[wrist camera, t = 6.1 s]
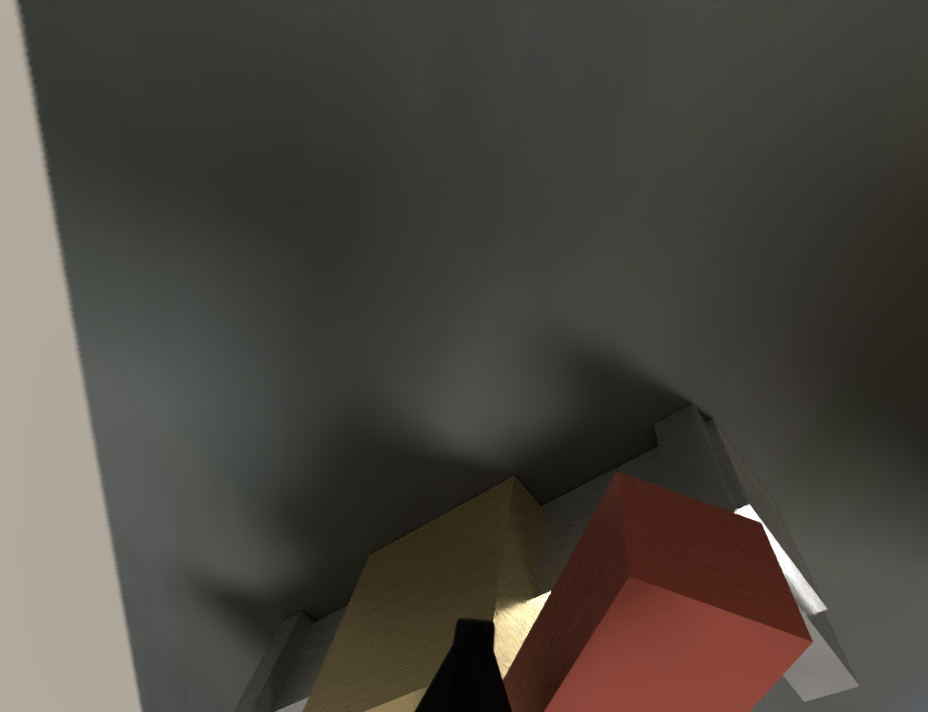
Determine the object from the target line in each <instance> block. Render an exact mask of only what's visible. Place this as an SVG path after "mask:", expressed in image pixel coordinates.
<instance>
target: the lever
mask: <svg viewBox="0 0 928 712" xmlns="http://www.w3.org/2000/svg"><path fill="white" fill-rule="evenodd" d="M812 643H813V640H812V638H811V636H810V633H809V631H808V629H807V626H806V624H805V622H804V620H803V617H802V615H801V613H800V610H799V608H798V606H797V603H796V601H795V599H794V597H793V594H792V592H791V590H790V587H789V585H788V583H787V580H786V578H785V576H784V574H783V571H782V569H781V567H780V564H779V562H778V560H777V557H776V555H775V553H774V550H773V548H772V546H771V544H770V541H769V539H768V537H767V534H766V532H765V530H764V527H763V525H762V523H761V522H758V521H756V520H753V519H750V518H747V517H744V516H742V515H739V514H736V513H733V512H730V511H727V510H725V509H722V508H719V507H716V506H713V505H710V504H708V503H705V502H702V501H699V500H696V499H693V498H691V497H688V496H685V495H682V494H679V493H676V492H674V491H671V490H668V489H665V488H662V487H659V486H657V485H654V484H651V483H648V482H645V481H642V480H640V479H637V478H634V477H631V476H628V475H625V474H623V473H620V472H616V474H615V475H614V477H613V479H612V481H611V483H610V485H609V486H608V488H607V490H606V492H605V494H604V496H603V497H602V499H601V501H600V503H599V505H598V507H597V508H596V510H595V512H594V514H593V516H592V518H591V519H590V521H589V523H588V525H587V527H586V529H585V530H584V532H583V534H582V536H581V538H580V540H579V541H578V543H577V545H576V547H575V549H574V551H573V552H572V554H571V556H570V558H569V560H568V562H567V563H566V565H565V567H564V569H563V571H562V573H561V574H560V576H559V578H558V580H557V582H556V584H555V585H554V587H553V589H552V591H551V593H550V595H549V596H548V598H547V600H546V602H545V604H544V606H543V607H542V609H541V611H540V613H539V615H538V617H537V618H536V620H535V622H534V624H533V626H532V628H531V629H530V631H529V633H528V635H527V637H526V639H525V640H524V642H523V644H522V646H521V648H520V650H519V651H518V653H517V655H516V657H515V659H514V661H513V662H512V664H511V666H510V668H509V670H508V672H507V673H506V675H505V677H504V679H503V682H504V686H505V689H506V692H507V696H508V699H509V703H510V706H511V709H512V712H749V711H750V710H751V709H752V708H753V707H754V706H755V705H756V704H757V703H758V701H759V700H760V699H761V698H762V697H763V696H764V695H765V694H766V693H767V692H768V691H769V689H770V688H771V687H772V686H773V685H774V684H775V683H776V682H777V681H778V680H779V679H780V678H781V676H782V675H783V674H784V673H785V672H786V671H787V670H788V669H789V668H790V667H791V666H792V665H793V663H794V662H795V661H796V660H797V659H798V658H799V657H800V656H801V655H802V654H803V653H804V651H805V650H806V649H807V648H808V647H809V646H810V645H811V644H812Z"/></svg>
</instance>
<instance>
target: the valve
mask: <svg viewBox="0 0 928 712" xmlns="http://www.w3.org/2000/svg"><path fill="white" fill-rule="evenodd" d="M654 428H655V432H656V436H657V440H658V445H659V446H658V447H656V448H654V449H652V450H650V451H648V452H646V453H644V454H642V455H640V456H638V457H637V458H635V459H633V460H631V461H629V462H627V463H625V464H623V465H621V466H619V467H617V468H615V469H613V470H611V471H609V472H607V473H605V474H603V475H601V476H599V477H597V478H595V479H593V480H592V481H590V482H588V483H586V484H584V485H582V486H580V487H578V488H576V489H574V490H572V491H570V492H568V493H566V494H564V495H562V496H560V497H558V498H556V499H554V500H552V501H550V502H549V503H547V504H545V505H543V506H540V505H539V503H538V502H537V501H536V500H535V499H534V498H533V497H532V495H531V494H530V493H529V492H528V491H527V490H526V489H525V487H524V486H523V485H522V484H521V483H520V482H519V481H518V479H517V478H516V477H515V476H512V477H510V478H509V479H507V480H505V481H503V482H501V483H499V484H498V485H496V486H494V487H492V488H490V489H488V490H487V491H485V492H483V493H481V494H479V495H478V496H476V497H474V498H472V499H470V500H468V501H467V502H465V503H463V504H461V505H459V506H458V507H456V508H454V509H452V510H450V511H448V512H447V513H445V514H443V515H441V516H439V517H438V518H436V519H434V520H432V521H430V522H428V523H427V524H425V525H423V526H421V527H419V528H418V529H416V530H414V531H412V532H410V533H408V534H407V535H405V536H403V537H401V538H399V539H397V540H396V541H394V542H392V543H390V544H388V545H387V546H385V547H383V548H381V549H379V550H377V551H376V552H374V553H372V554H370V555H369V557H368V559H367V562H366V564H365V566H364V569H363V571H362V573H361V576H360V578H359V580H358V583H357V585H356V587H355V590H354V592H353V594H352V597H351V599H350V602H349V604H348V605H347V606H345V607H343V608H341V609H339V610H337V611H335V612H333V613H331V614H329V615H328V616H326V617H324V618H322V619H320V620H318V621H316V622H313V621H312V620H311V619H310V618H309V617H308V616H307V615H306V614H305V613H304V612H302V611H300V612H298V613H297V614H295V615H293V616H291V617H289V618H287V619H285V620H283V621H282V622H281V624H280V626H279V627H278V629H277V631H276V633H275V635H274V637H273V639H272V641H271V642H270V644H269V646H268V648H267V650H266V652H265V654H264V655H263V657H262V659H261V661H260V663H259V665H258V667H257V669H256V670H255V672H254V674H253V676H252V678H251V680H250V682H249V683H248V685H247V687H246V689H245V691H244V693H243V695H242V697H241V698H240V700H239V702H238V704H237V706H236V708H235V710H234V711H233V712H414V711H415V710H416V708H417V706H418V704H419V703H420V701H421V699H422V697H423V696H424V694H425V692H426V690H427V689H428V687H429V685H430V683H431V681H432V680H433V678H434V676H435V674H436V673H437V671H438V669H439V667H440V666H441V664H442V662H443V660H444V659H445V657H446V655H447V653H448V652H449V650H450V648H451V646H452V645H453V638H454V632H455V626H456V622H457V620H458V619H459V618H472V619H482V620H491V621H493V622H494V623H495V649H494V652H495V656H496V659H497V662H498V666H499V669H500V672H501V676H502V679H504V677H505V675H506V673H507V672H508V670H509V668H510V666H511V664H512V662H513V661H514V659H515V657H516V655H517V653H518V651H519V650H520V648H521V646H522V644H523V642H524V640H525V639H526V637H527V635H528V633H529V631H530V629H531V628H532V626H533V624H534V622H535V620H536V618H537V617H538V615H539V613H540V611H541V609H542V607H543V606H544V604H545V602H546V600H547V598H548V596H549V595H550V593H551V591H552V589H553V587H554V585H555V584H556V582H557V580H558V578H559V576H560V574H561V573H562V571H563V569H564V567H565V565H566V563H567V562H568V560H569V558H570V556H571V554H572V552H573V551H574V549H575V547H576V545H577V543H578V541H579V540H580V538H581V536H582V534H583V532H584V530H585V529H586V527H587V525H588V523H589V521H590V519H591V518H592V516H593V514H594V512H595V510H596V508H597V507H598V505H599V503H600V501H601V499H602V497H603V496H604V494H605V492H606V490H607V488H608V486H609V485H610V483H611V481H612V479H613V477H614V475H615V474H616V472H620V473H623V474H625V475H628V476H631V477H634V478H637V479H640V480H642V481H645V482H648V483H651V484H654V485H657V486H659V487H662V488H665V489H668V490H671V491H674V492H676V493H679V494H682V495H685V496H688V497H691V498H693V499H696V500H699V501H702V502H705V503H708V504H710V505H713V506H716V507H719V508H722V509H725V510H727V511H730V512H733V513H736V514H739V515H742V516H744V517H747V518H750V519H753V520H756V521H758V522H761V523H762V525H763V527H764V530H765V532H766V534H767V537H768V539H769V541H770V544H771V546H772V548H773V550H774V553H775V555H776V557H777V560H778V562H779V564H780V567H781V569H782V571H783V574H784V576H785V578H786V580H787V583H788V585H789V587H790V590H791V592H792V594H793V597H794V599H795V601H796V603H797V606H798V608H799V610H800V613H801V615H802V617H803V620H804V622H805V624H806V626H807V629H808V631H809V633H810V636H811V638H812V640H813V643H812V644H811V645H810V646H809V647H808V648H807V649H806V650H805V651H804V653H803V654H802V655H801V656H800V657H799V658H798V659H797V660H796V661H795V662H794V663H793V665H792V666H791V667H790V668H789V669H788V670H787V671H786V672H785V673H784V674H783V676H784V677H785V678H786V680H787V681H788V682H789V683H790V684H791V686H792V687H793V688H794V689H795V691H796V692H797V693H798V694H799V696H800V697H801V698H802V699H803V701H804V702H806V701H809V700H813V699H816V698H820V697H823V696H827V695H830V694H834V693H837V692H841V691H844V690H848V689H851V688H855V687H858V686H859V684H858V682H857V679H856V677H855V675H854V673H853V671H852V669H851V667H850V665H849V663H848V661H847V659H846V657H845V654H844V652H843V650H842V648H841V646H840V644H839V642H838V640H837V638H836V636H835V634H834V631H833V629H832V627H831V625H830V623H829V621H828V619H827V617H826V615H825V613H824V610H827V607H826V605H825V603H824V601H823V599H822V597H821V595H820V592H819V590H818V588H817V586H816V584H815V582H814V580H813V578H812V576H811V574H810V572H809V570H808V568H807V566H806V564H805V562H804V560H803V558H802V556H801V554H800V552H799V549H798V547H797V545H796V543H795V541H794V539H793V537H792V535H791V533H790V531H789V529H788V527H787V525H786V523H785V521H784V519H783V517H782V515H781V513H780V511H779V509H778V507H777V505H776V504H775V503H774V501H773V500H772V499H771V497H770V496H769V495H768V493H767V492H766V490H765V489H764V488H763V486H762V485H761V484H760V482H759V481H758V479H757V478H756V477H755V475H754V474H753V473H752V471H751V470H750V468H749V467H748V466H747V464H746V463H745V462H744V460H743V459H742V458H741V456H740V455H739V453H738V452H737V451H736V449H735V448H734V447H733V445H732V444H731V442H730V441H729V440H728V438H727V437H726V436H725V434H724V433H723V432H722V430H721V429H720V427H719V426H718V425H717V423H716V422H715V421H714V419H711V420H709V421H707V422H706V421H705V420H704V418H703V417H702V416H701V414H700V413H699V411H698V410H697V409H696V407H695V406H694V405H693V404H691V405H689V406H687V407H685V408H683V409H682V410H680V411H678V412H676V413H674V414H672V415H670V416H668V417H666V418H665V419H663V420H661V421H659V422H657V423H655V424H654Z"/></svg>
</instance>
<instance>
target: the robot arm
mask: <svg viewBox="0 0 928 712" xmlns="http://www.w3.org/2000/svg"><path fill="white" fill-rule="evenodd" d="M494 649H495V623H494V622H493V621H491V620H482V619H472V618H459V619H458V620H457V622H456V626H455V632H454V638H453V645H452V646H451V648H450V650H449V652H448V653H447V655H446V657H445V659H444V660H443V662H442V664H441V666H440V667H439V669H438V671H437V673H436V674H435V676H434V678H433V680H432V681H431V683H430V685H429V687H428V689H427V690H426V692H425V694H424V696H423V697H422V699H421V701H420V703H419V704H418V706H417V708H416V710H415V711H414V712H512V709H511V706H510V703H509V699H508V696H507V692H506V689H505V686H504V682H503V679H502V676H501V672H500V669H499V666H498V662H497V659H496V656H495V652H494Z"/></svg>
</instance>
